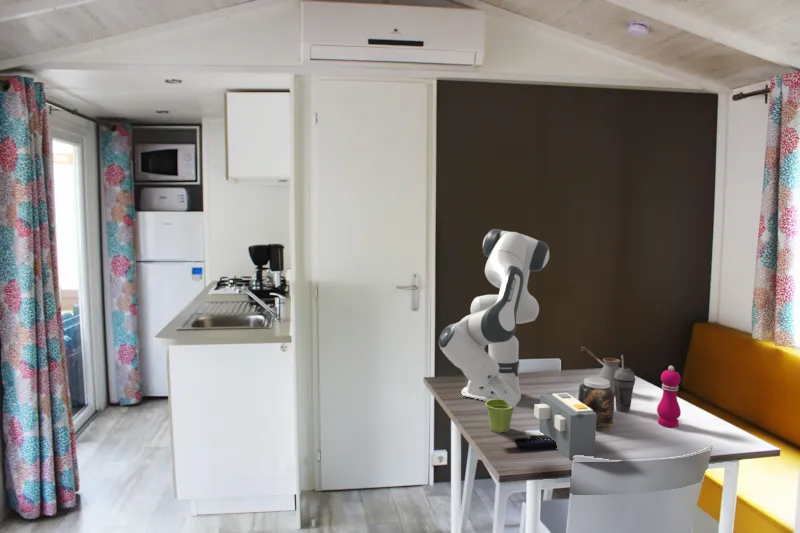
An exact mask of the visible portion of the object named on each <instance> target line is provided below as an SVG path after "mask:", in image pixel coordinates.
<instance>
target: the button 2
mask: <svg viewBox="0 0 800 533" xmlns="http://www.w3.org/2000/svg"><path fill="white" fill-rule="evenodd" d="M554 427H555V428H556V429H558V430H559V431H566V417H564V416H563V415H555V419H554Z"/></svg>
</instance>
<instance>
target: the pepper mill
mask: <svg viewBox="0 0 800 533" xmlns="http://www.w3.org/2000/svg"><path fill="white" fill-rule="evenodd" d="M681 380H682V379H681V375H680V373H679V372H678V371H676V370H675V367H674V366H673V365H669V366H668V369H666V370H664V371H663V372H662V373H661V375H660V381H661V382H662V384H661V388H662V396H661V399H660V401H659V403H658V405H657V407H656V412H657V415H658V417H657V424H658V425H659V426H662V427H664V428H670V429H673V428H675V429H676V428H678V426H679V418H680V416H681V414H682V412H681V411H682V410H681V406H680V405H679V404H680V403H679V402H678V396H677V394H678V391H679V388H680V386H679V384H680V382H681Z"/></svg>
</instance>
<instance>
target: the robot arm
mask: <svg viewBox="0 0 800 533" xmlns="http://www.w3.org/2000/svg"><path fill="white" fill-rule="evenodd" d="M549 249H550V247H549V245H548V244H547V243H546V242H544V241H542V240H540V239H539V240H538V239H535V238H533V237H530V236H528V235H525V234H522V233H519V232H516V231H507V230H503V229H500V228H493V229H491V230H488V233H487V234H486V235H485V236H484V238H483V241H482V253H483V255H484V256H485V257H486V258H488V259H487V260H486V263H485V267H484V275H485V277H486V279H487V281H488V282H489V283H490V284H491V285H492V286H494V287H495V288H498V289H499V293H498V294H485V295H480V296H476V297H474V298H473V300H472V302H471V305H470V314H468V315H466V316H464V317H463V318H461V319H460V321H458V322H456V323H451V324H449V325H447V326H446V327H444V329H443V330H442V331H441V332H440V334H439V339H438V345H439V349H440V350H441V351H442V353H443V354H444V356H445V357H446V358H447V359H448V360H449V361H450V362H451V363H452V364H453V365H454V366H455V367H456V368H458V369H460V370H461V372H462V373H463V375H464V376H465V377H466V378H467V379H468V382H467V385H466V386H465V387H463V388H462V389H461V392H460V393H461V394H462V395H463V396H466V397H471V398H474V399H473V400H476V399H479V400H478V401H481V400H483V401H482V402H486V401H488V400H492V399H503V400H504V401H505V402H506V403H507V404H508V405H509V406H510V407H514V406H515V407H516V406H517V405H518V404H519V402H520V401H521V399H522V394H521V390H520V385H519V375H520V360H519V346H520V345H519V343H520V342H519V340H518V338H517V337H516V335H515V332H516V329H517V324H520V325H521V324H526V323H529V322H530V323H531V322H534V321H536V319H537V317H538V315H539V313H540V306H539V302H538V301H537V299H536V298H535V297H534V296H533V295H532V294H530V292H529V290H528V282H529V278H530V274H531V272H540V271H542V270H543V269H544V267H545V266H546V265H547V263H548V261H549V259H550V250H549ZM487 345H488V352H487V351H486V350H485V348H486V346H487ZM461 394H460V395H461ZM462 395H461V396H462ZM463 396H462V397H463ZM515 407H514V408H515Z"/></svg>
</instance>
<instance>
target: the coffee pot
mask: <svg viewBox="0 0 800 533" xmlns="http://www.w3.org/2000/svg"><path fill="white" fill-rule="evenodd" d="M580 351H581V352H582V351H585V352H587V353H588V354H589V356H591V357H592V358H593V359H595V360H596V361H598V362H599V364H601V365H602V366H603V367H602V368H601V371H600V372H599V374H598V377H599V378H604V379H607V380H609V381H610V386H612V387H613V388H614V392H615V383H614V375H615V372H616V371H617V370H618V369H619V368H620V367H619V366H620V363H621V360H620V359H618V358H615V357H605V358H603V359H602V360H601V359H600V358H599V357H597V356H596V355H595V353H593V352H592V351H591V350H589V349H588V348H586V346H582V347H581V348H580Z"/></svg>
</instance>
